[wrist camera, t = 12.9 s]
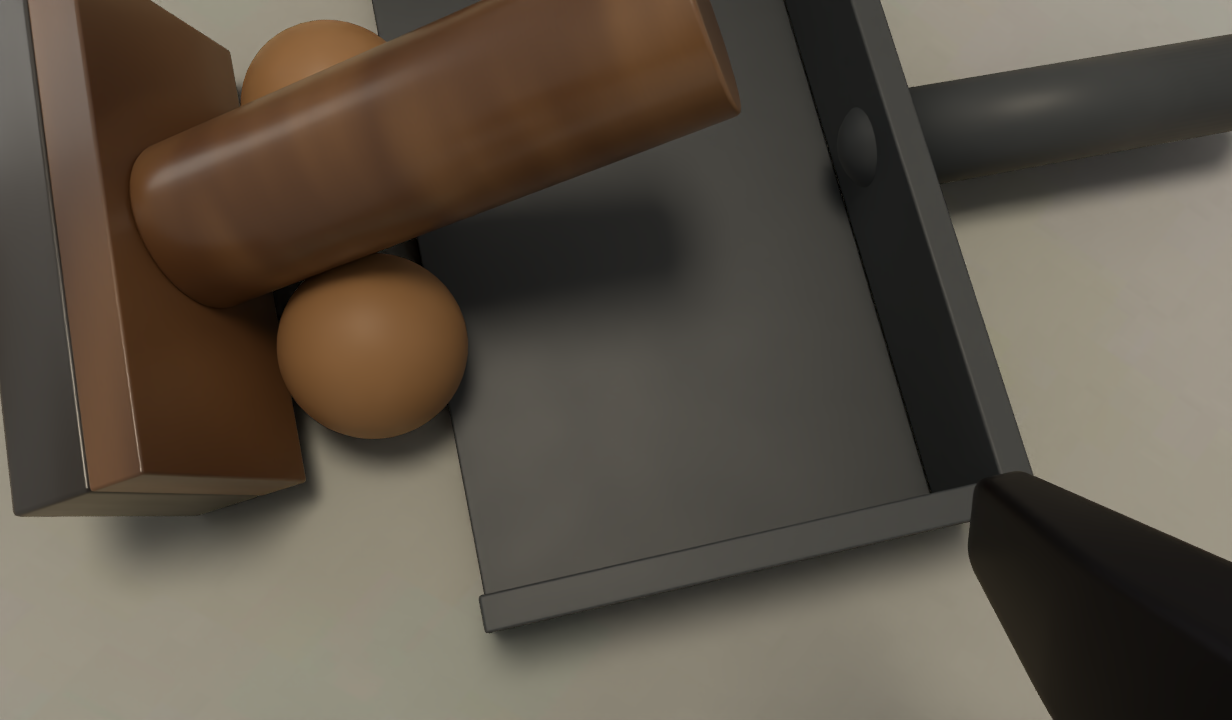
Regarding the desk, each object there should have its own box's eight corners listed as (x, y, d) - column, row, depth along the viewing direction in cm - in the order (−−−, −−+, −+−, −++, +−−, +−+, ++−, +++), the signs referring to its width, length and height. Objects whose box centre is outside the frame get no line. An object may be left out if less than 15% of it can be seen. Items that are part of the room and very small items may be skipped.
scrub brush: (196, 517, 19) (812, 323, 16) (11, 518, 15) (770, 264, 12) (132, 95, 21) (668, -150, 18) (-45, 4, 17) (594, -327, 14)
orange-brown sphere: (293, 490, 17) (486, 454, 18) (236, 314, 16) (448, 278, 16) (316, 399, 20) (480, 370, 21) (269, 244, 19) (448, 214, 19)
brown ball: (262, 243, 19) (443, 211, 19) (202, 64, 17) (402, 33, 17) (278, 175, 22) (435, 148, 22) (228, 15, 20) (400, -12, 20)
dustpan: (492, 631, 19) (485, 634, 16) (361, -57, 22) (334, -170, 19) (1351, 432, 21) (1494, 400, 18) (1114, -158, 25) (1200, -272, 22)
